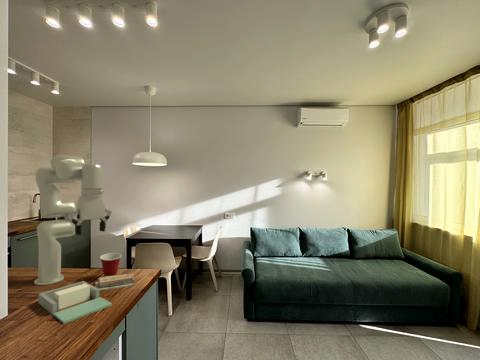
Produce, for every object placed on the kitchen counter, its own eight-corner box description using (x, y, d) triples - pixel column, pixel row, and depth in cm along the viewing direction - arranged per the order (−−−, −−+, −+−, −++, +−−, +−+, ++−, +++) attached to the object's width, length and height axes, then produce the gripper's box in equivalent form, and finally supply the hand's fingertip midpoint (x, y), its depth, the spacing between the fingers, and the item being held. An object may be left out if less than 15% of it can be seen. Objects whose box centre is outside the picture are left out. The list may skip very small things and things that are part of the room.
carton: (54, 306, 107) (54, 292, 107) (84, 296, 117) (84, 283, 117) (58, 310, 104) (59, 295, 104) (89, 299, 114) (90, 286, 114)
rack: (38, 303, 109) (38, 293, 110) (83, 289, 124) (83, 281, 124) (52, 314, 100) (52, 304, 100) (99, 298, 115) (99, 289, 115)
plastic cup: (101, 282, 133) (101, 259, 133) (97, 276, 141) (98, 254, 141) (123, 278, 139) (124, 256, 139) (118, 272, 148) (119, 251, 148)
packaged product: (133, 270, 138) (134, 277, 129) (133, 279, 138) (134, 286, 129) (95, 275, 130) (94, 282, 121) (95, 285, 130) (93, 292, 121)
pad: (53, 315, 100) (53, 313, 100) (100, 298, 114) (100, 297, 114) (63, 323, 94) (63, 321, 94) (111, 305, 109) (111, 303, 109)
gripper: (106, 192, 118) (106, 229, 117) (64, 193, 103) (63, 235, 103) (115, 192, 113) (115, 230, 113) (73, 193, 99) (72, 237, 99)
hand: (90, 232), depth 108 cm, fingers open, 9 cm apart
